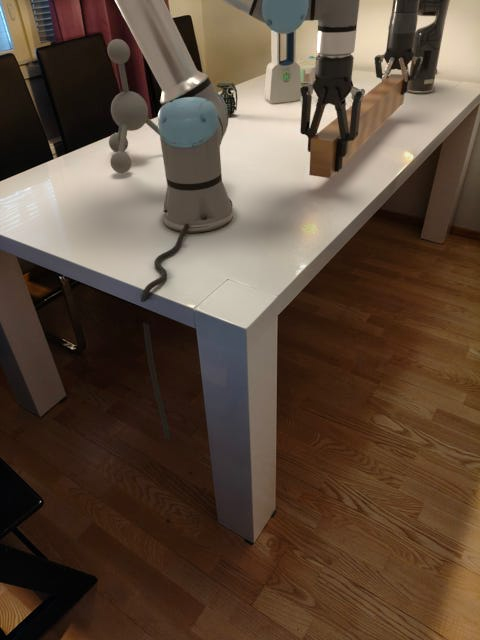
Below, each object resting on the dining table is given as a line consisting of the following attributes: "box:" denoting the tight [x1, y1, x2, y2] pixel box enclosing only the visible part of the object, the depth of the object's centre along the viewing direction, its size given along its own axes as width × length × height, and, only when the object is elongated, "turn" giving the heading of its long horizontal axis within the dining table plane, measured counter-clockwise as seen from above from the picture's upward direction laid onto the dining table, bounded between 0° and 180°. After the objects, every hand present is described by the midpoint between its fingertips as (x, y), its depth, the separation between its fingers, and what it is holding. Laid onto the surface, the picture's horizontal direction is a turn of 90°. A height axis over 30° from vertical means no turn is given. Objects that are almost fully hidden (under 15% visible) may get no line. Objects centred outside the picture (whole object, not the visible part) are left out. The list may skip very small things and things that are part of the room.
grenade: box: [215, 82, 238, 117], centre depth 166 cm, size 7×6×10 cm
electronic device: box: [263, 29, 302, 104], centre depth 173 cm, size 12×8×30 cm, turn 105°
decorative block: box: [295, 55, 317, 85], centre depth 207 cm, size 26×6×20 cm
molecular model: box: [107, 38, 159, 174], centre depth 130 cm, size 24×22×30 cm
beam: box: [308, 73, 406, 179], centre depth 129 cm, size 66×5×8 cm, turn 152°
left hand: (326, 167), depth 112 cm, fingers closed on beam, 5 cm apart
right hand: (393, 93), depth 149 cm, fingers closed on beam, 5 cm apart
